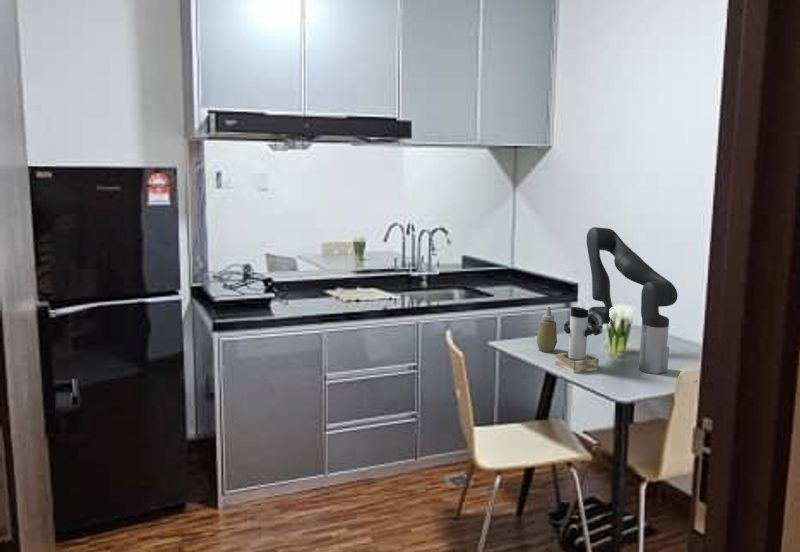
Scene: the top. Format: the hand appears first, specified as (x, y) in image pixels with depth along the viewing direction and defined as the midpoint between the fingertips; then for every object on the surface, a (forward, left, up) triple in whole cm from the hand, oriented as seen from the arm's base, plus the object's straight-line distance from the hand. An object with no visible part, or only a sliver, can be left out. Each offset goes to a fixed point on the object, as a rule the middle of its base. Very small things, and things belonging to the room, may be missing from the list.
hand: (576, 332), depth 253 cm
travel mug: (-1, -2, -11) cm, 11 cm away
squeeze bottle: (+4, -25, -14) cm, 29 cm away
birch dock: (-1, -2, -14) cm, 14 cm away
